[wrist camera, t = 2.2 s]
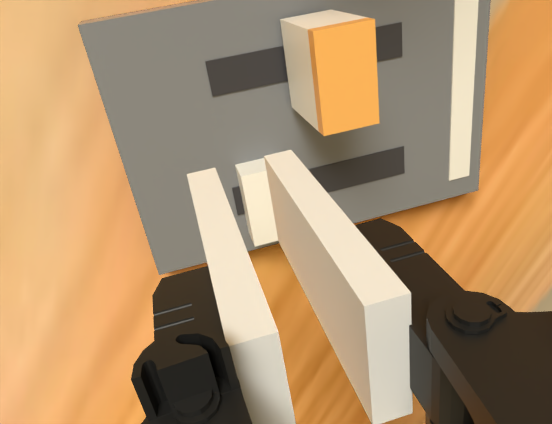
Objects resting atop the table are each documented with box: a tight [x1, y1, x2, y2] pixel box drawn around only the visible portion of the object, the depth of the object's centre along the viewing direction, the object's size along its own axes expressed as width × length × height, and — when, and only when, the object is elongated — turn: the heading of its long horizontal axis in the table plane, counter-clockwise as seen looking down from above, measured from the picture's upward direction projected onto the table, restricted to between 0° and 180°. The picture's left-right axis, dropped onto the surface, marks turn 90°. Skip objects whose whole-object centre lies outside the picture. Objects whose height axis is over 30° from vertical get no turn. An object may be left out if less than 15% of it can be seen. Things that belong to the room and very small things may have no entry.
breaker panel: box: [78, 0, 491, 275], centre depth 30 cm, size 24×16×4 cm, turn 99°
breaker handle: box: [280, 10, 380, 136], centre depth 25 cm, size 3×5×6 cm, turn 9°
